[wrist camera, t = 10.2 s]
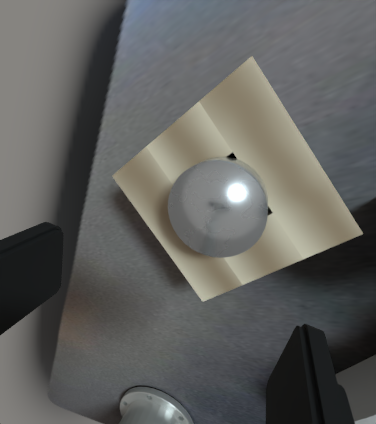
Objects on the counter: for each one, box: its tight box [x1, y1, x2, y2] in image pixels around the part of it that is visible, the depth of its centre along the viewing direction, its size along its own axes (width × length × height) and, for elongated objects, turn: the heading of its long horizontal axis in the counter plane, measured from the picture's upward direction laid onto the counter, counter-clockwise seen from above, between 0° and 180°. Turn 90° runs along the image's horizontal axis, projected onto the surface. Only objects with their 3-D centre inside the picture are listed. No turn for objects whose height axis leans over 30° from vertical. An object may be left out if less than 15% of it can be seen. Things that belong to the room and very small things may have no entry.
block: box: [112, 56, 363, 301], centre depth 22 cm, size 14×14×6 cm
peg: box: [168, 157, 268, 258], centre depth 21 cm, size 7×7×8 cm
